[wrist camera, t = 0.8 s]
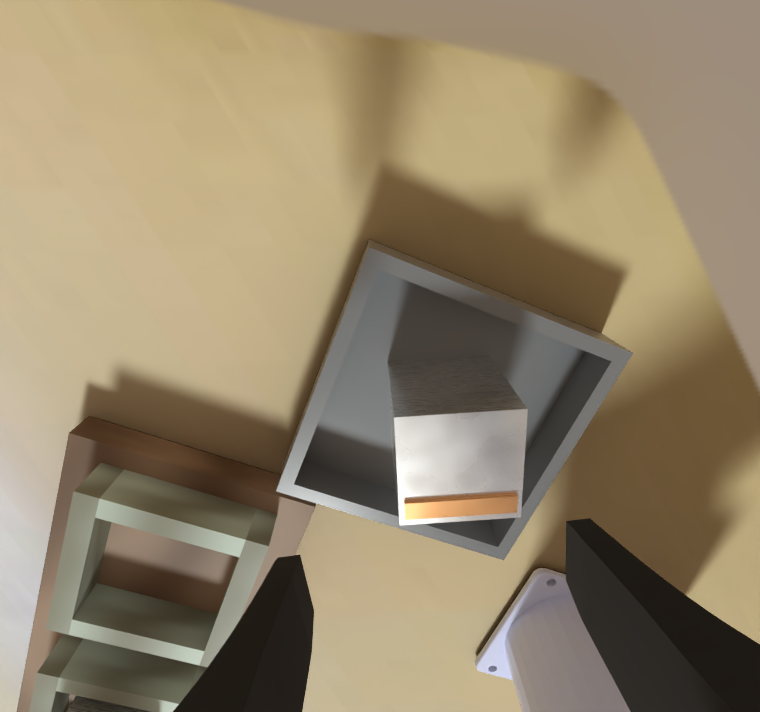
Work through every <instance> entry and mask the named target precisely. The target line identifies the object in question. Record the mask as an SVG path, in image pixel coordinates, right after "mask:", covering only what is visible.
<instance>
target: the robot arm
mask: <svg viewBox="0 0 760 712" xmlns="http://www.w3.org/2000/svg"><path fill="white" fill-rule="evenodd" d="M550 579H551V580H550ZM313 618H314V609H313V605H312V601H311V597H310V593H309V589H308V585H307V581H306V577H305V573H304V569H303V565H302V561H301V557H300V555H294V556H286V557H278V558H277V559H276V560H275V561H274V563H273V565H272V567H271V569H270V570H269V572H268V574H267V576H266V577H265V579H264V581H263V583H262V584H261V586H260V588H259V589H258V591H257V593H256V594H255V596H254V598H253V599H252V601H251V603H250V604H249V606H248V608H247V609H246V611H245V612H244V614H243V616H242V617H241V619H240V620H239V622H238V623H237V625H236V627H235V628H234V630H233V631H232V633H231V634H230V636H229V637H228V639H227V640H226V642H225V643H224V644H223V646H222V647H221V649H220V650H219V652H218V653H217V655H216V656H215V657H214V659H213V660H212V662H211V663H210V665H209V666H208V667H207V669H206V670H205V671H204V673H203V674H202V675H201V677H200V678H199V679H198V681H197V682H196V683H195V685H194V686H193V687H192V688H191V690H190V691H189V692H188V693H187V695H186V696H185V697H184V698H183V700H182V701H181V702H180V703H179V705H178V706H177V707H176V708H175V710H174V711H173V712H302V709H303V703H304V696H305V690H306V684H307V678H308V672H309V665H310V659H311V652H312V637H313ZM475 664H476V668H477V670H478V671H481V672H484V673H488V674H492V675H495V676H499V677H503V678H507V679H511V680H513V682H514V685H515V689H516V692H517V695H518V699H519V702H520V705H521V709H522V712H760V644H758V643H756V642H755V641H753V640H752V639H750V638H748V637H747V636H745V635H744V634H742V633H741V632H739V631H737V630H736V629H734V628H733V627H731V626H730V625H728V624H726V623H725V622H723V621H722V620H720V619H719V618H717V617H716V616H714V615H713V614H711V613H710V612H708V611H707V610H705V609H704V608H703V607H701V606H700V605H698V604H697V603H696V602H694V601H693V600H691V599H690V598H688V597H687V596H686V595H684V594H683V593H682V592H680V591H679V590H678V589H676V588H675V587H674V586H672V585H671V584H670V583H668V582H667V581H666V580H664V579H663V578H662V577H661V576H659V575H658V574H657V573H655V572H654V571H653V570H652V569H650V568H649V567H648V566H646V565H645V564H644V563H643V562H641V561H640V560H639V559H638V558H636V557H635V556H634V555H633V554H632V553H630V552H629V551H628V550H627V549H626V548H624V547H623V546H622V545H621V544H620V543H618V542H617V541H616V540H615V539H614V538H612V537H611V536H610V535H609V534H608V533H606V532H605V531H604V530H603V529H602V528H600V527H599V526H598V525H597V524H596V523H594V522H593V521H592V520H591V519H581V520H573V521H566V574H563V573H559V572H556V571H553V570H549V569H546V568H538V569H536V570H535V571H534V572H533V573H532V575H531V576H530V578H529V579H528V581H527V582H526V584H525V585H524V587H523V588H522V590H521V591H520V593H519V594H518V596H517V597H516V599H515V600H514V602H513V603H512V605H511V606H510V608H509V609H508V611H507V613H506V614H505V616H504V617H503V619H502V620H501V622H500V623H499V625H498V626H497V628H496V629H495V631H494V632H493V634H492V635H491V637H490V638H489V640H488V641H487V643H486V644H485V646H484V647H483V649H482V650H481V652H480V653H479V655H478V657H477V658H476V660H475Z"/></svg>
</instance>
